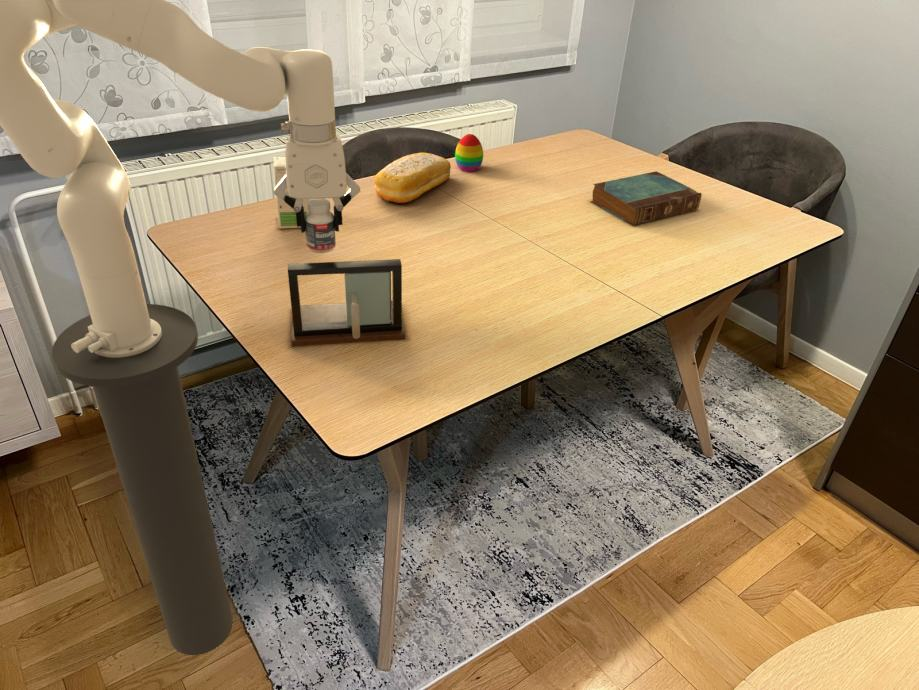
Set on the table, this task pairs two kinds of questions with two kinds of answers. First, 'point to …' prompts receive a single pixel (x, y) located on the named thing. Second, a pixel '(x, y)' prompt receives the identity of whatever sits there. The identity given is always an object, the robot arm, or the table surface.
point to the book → (645, 197)
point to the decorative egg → (469, 153)
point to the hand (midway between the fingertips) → (320, 228)
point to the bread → (411, 177)
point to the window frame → (342, 306)
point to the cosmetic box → (283, 209)
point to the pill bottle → (319, 226)
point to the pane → (367, 299)
